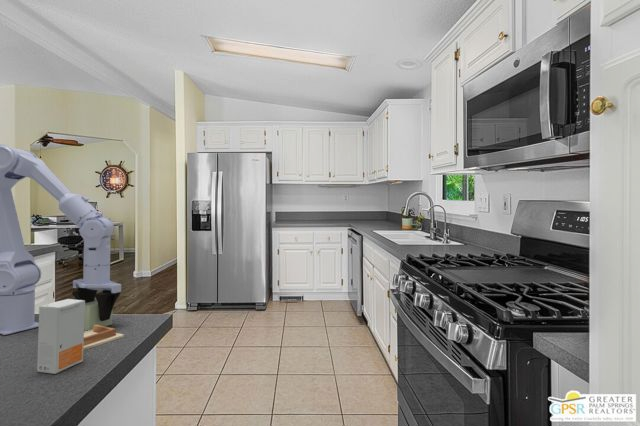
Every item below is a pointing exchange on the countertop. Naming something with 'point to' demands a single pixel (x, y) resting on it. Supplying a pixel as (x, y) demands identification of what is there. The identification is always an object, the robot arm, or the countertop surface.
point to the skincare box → (60, 335)
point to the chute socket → (99, 336)
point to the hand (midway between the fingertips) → (95, 318)
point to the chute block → (94, 316)
